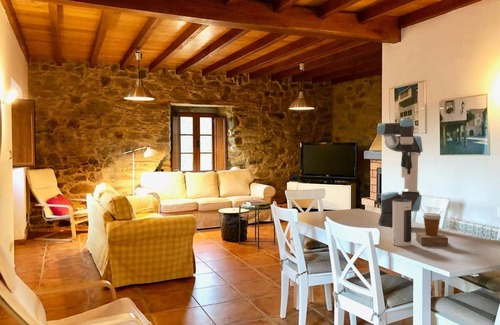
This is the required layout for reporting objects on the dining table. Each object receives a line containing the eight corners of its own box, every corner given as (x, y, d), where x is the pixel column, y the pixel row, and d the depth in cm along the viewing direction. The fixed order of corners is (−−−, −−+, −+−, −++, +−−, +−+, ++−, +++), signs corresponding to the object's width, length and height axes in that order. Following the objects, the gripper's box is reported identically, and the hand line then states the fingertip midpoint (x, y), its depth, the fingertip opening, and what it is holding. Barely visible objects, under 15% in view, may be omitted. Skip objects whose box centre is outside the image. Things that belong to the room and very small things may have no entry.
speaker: (399, 247, 230) (399, 201, 229) (388, 243, 240) (388, 198, 239) (415, 246, 233) (415, 200, 232) (403, 241, 243) (404, 198, 242)
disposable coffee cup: (424, 236, 235) (424, 215, 234) (421, 232, 244) (421, 212, 244) (442, 237, 233) (442, 216, 232) (438, 233, 242) (438, 213, 242)
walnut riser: (416, 240, 247) (416, 232, 247) (440, 240, 245) (440, 232, 244) (421, 246, 233) (421, 237, 233) (448, 246, 231) (448, 238, 231)
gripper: (396, 143, 264) (396, 176, 265) (404, 144, 239) (403, 180, 240) (408, 143, 262) (408, 176, 263) (417, 144, 238) (417, 180, 239)
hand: (406, 178), depth 252 cm, fingers open, 13 cm apart
